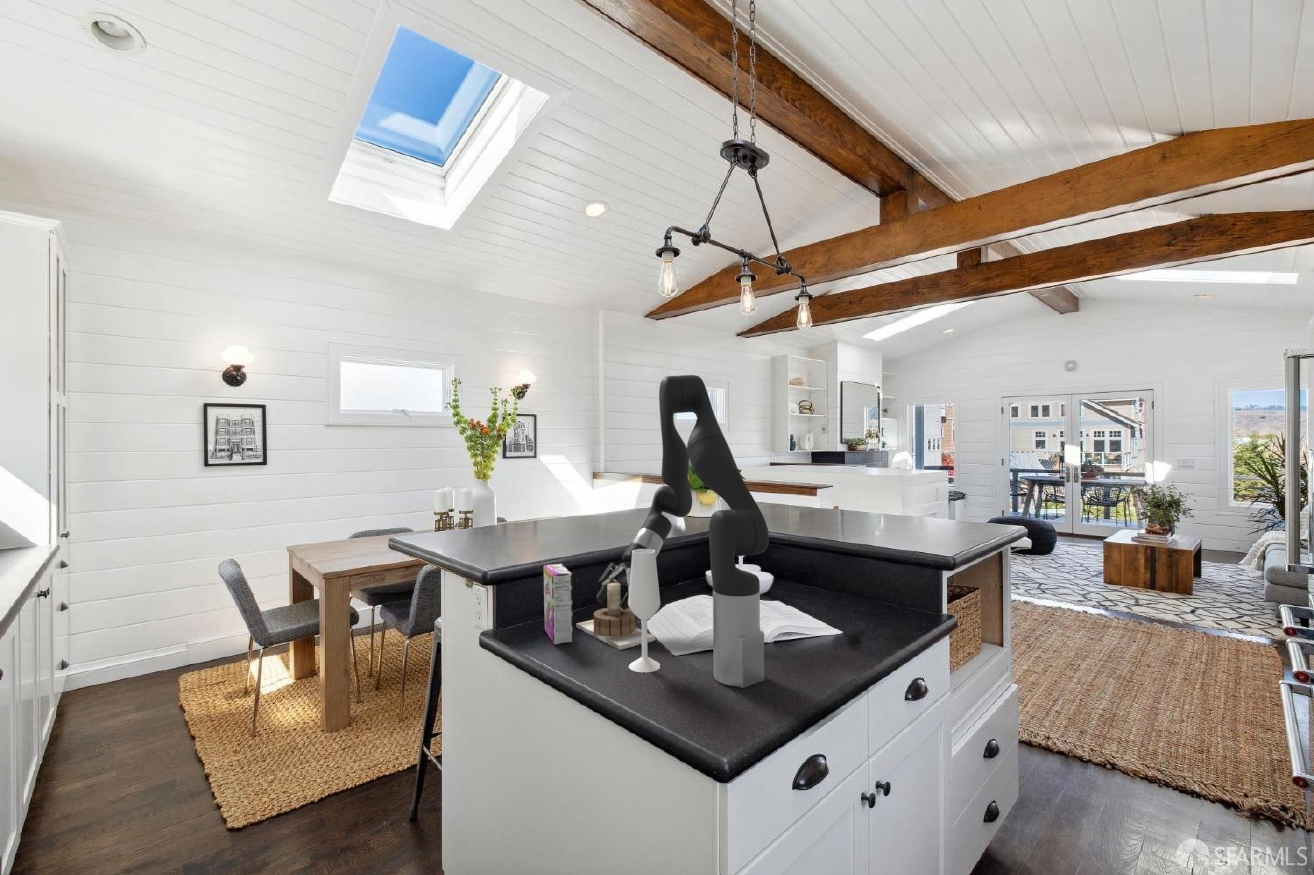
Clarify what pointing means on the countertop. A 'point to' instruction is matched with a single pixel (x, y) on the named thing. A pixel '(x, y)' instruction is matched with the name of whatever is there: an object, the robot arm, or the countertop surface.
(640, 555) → the champagne flute
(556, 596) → the candy bar box
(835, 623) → the countertop surface
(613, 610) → the wooden dowel peg
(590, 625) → the gear board
